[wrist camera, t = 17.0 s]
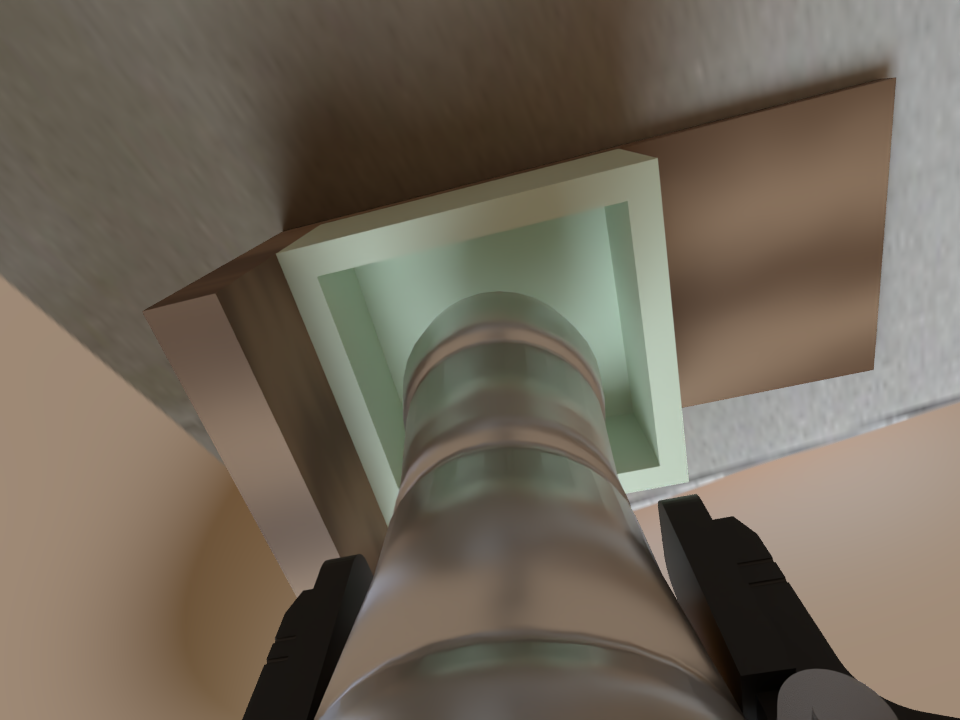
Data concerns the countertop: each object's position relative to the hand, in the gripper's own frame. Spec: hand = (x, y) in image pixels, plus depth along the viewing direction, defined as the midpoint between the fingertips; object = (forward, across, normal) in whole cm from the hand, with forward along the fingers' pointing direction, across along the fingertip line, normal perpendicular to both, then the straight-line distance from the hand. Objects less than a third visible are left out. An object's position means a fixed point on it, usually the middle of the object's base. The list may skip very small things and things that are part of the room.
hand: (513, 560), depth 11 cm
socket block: (+13, 0, 0) cm, 13 cm away
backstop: (+14, -4, 0) cm, 15 cm away
